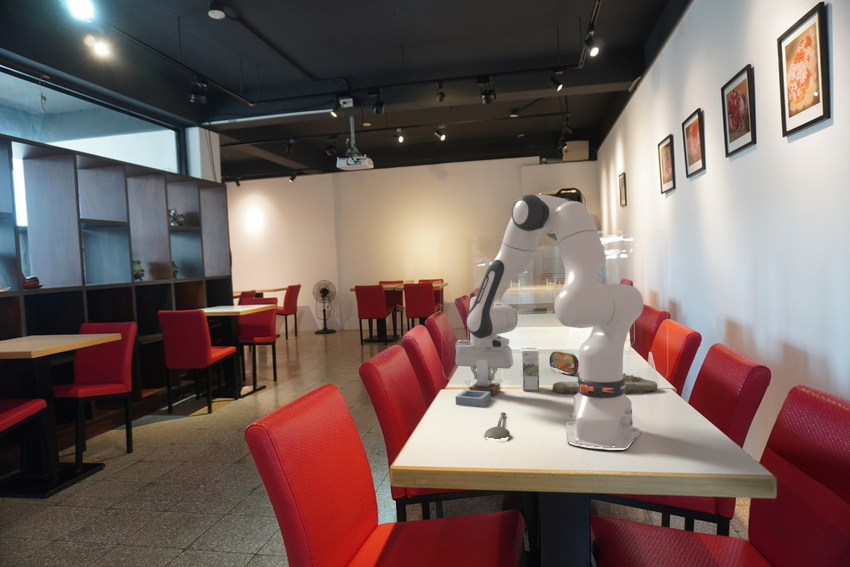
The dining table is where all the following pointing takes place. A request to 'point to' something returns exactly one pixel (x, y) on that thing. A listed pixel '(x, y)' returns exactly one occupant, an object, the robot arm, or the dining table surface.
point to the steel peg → (483, 374)
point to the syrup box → (530, 369)
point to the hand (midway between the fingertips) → (484, 379)
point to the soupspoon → (498, 430)
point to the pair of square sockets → (477, 395)
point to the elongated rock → (631, 385)
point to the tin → (564, 362)
